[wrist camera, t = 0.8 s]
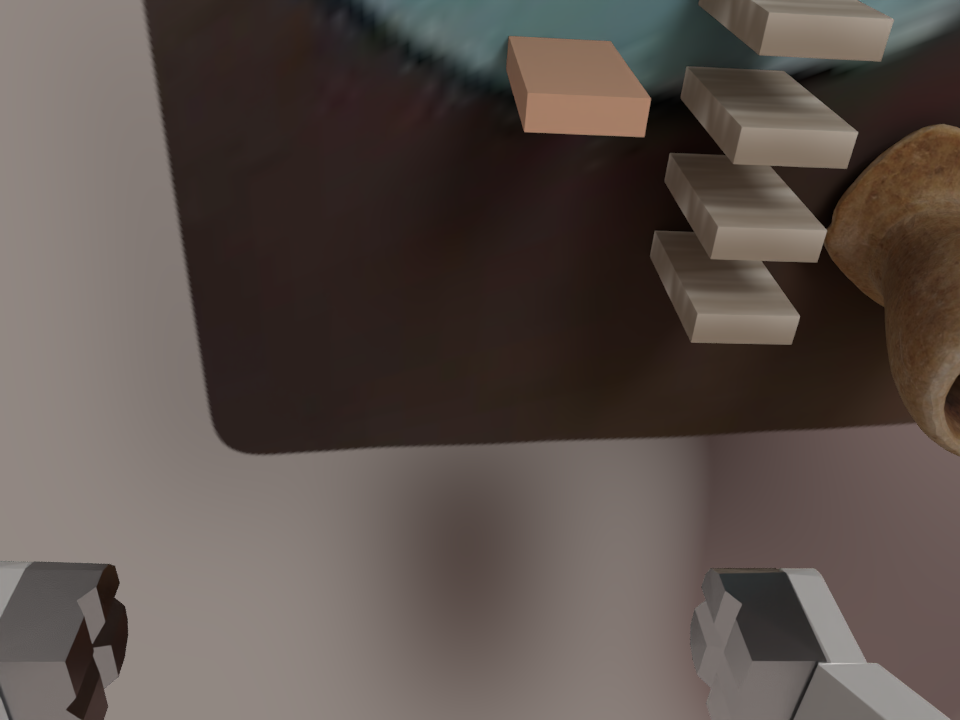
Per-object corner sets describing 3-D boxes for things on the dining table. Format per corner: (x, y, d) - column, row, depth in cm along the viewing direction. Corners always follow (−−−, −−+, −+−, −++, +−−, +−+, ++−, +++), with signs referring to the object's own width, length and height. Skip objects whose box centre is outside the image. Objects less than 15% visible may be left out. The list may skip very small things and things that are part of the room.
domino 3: (686, 66, 43) (742, 127, 36) (783, 71, 44) (858, 132, 36) (680, 98, 44) (733, 164, 37) (775, 102, 44) (846, 168, 37)
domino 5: (654, 230, 48) (697, 313, 41) (741, 233, 49) (800, 316, 41) (649, 256, 49) (691, 342, 42) (735, 259, 49) (791, 344, 42)
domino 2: (705, -32, 41) (769, 12, 33) (808, -26, 41) (894, 19, 34) (698, 4, 41) (759, 55, 34) (799, 10, 42) (880, 61, 34)
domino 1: (508, 35, 42) (527, 92, 34) (610, 41, 42) (651, 98, 35) (506, 69, 43) (524, 132, 35) (605, 74, 43) (644, 137, 36)
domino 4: (669, 152, 46) (718, 226, 38) (761, 156, 46) (827, 230, 39) (664, 181, 46) (710, 259, 39) (754, 184, 47) (817, 262, 39)
